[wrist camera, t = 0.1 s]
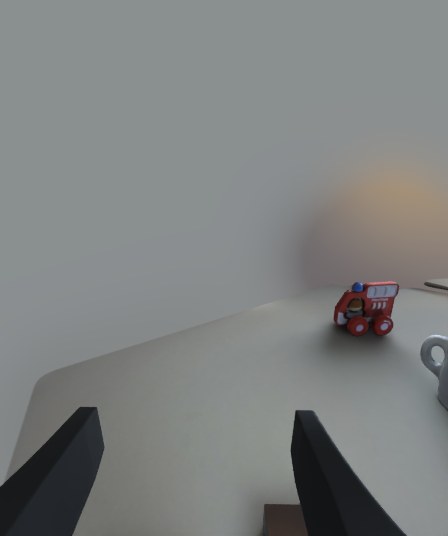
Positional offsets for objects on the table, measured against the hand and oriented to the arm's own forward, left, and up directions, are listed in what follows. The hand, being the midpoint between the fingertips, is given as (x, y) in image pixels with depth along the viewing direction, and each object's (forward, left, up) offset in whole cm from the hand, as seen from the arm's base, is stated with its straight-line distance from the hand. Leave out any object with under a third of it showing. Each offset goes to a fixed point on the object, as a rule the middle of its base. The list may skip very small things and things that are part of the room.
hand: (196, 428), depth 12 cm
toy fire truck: (+51, -30, -24) cm, 64 cm away
